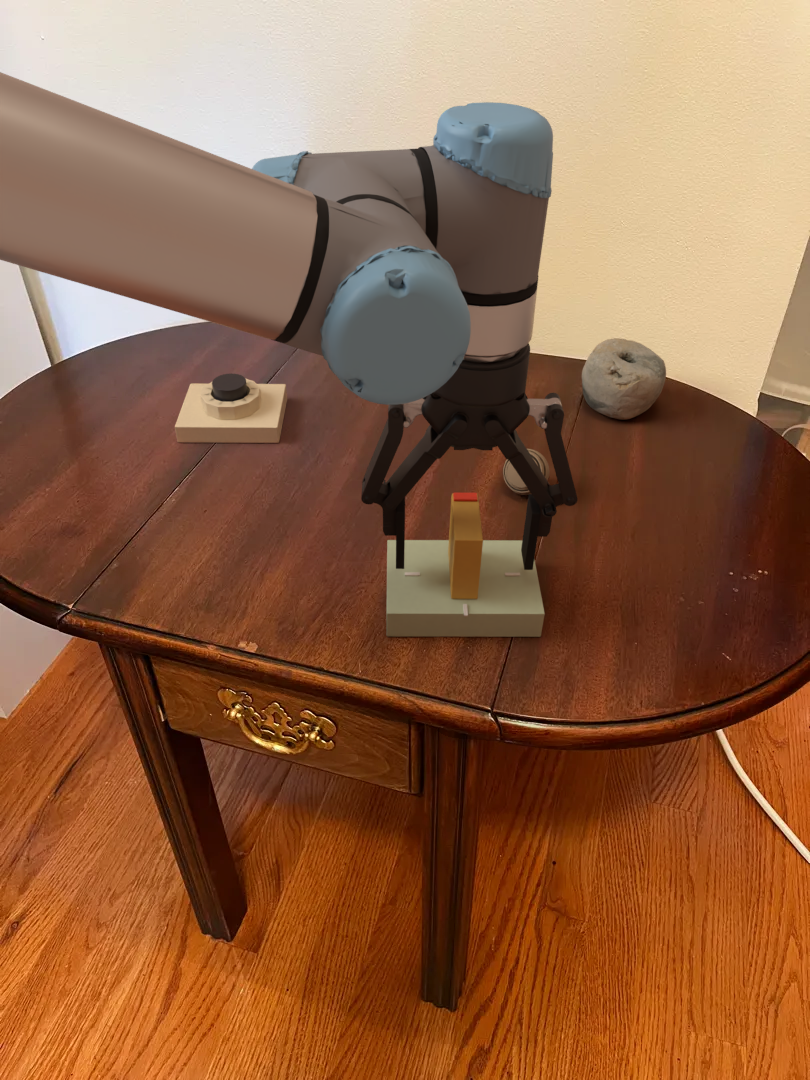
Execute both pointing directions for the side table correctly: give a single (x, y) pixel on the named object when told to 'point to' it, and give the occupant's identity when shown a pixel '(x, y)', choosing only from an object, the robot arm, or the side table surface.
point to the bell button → (229, 387)
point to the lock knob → (465, 546)
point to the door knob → (514, 479)
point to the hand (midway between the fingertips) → (463, 559)
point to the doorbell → (232, 415)
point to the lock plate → (430, 611)
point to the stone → (622, 378)
